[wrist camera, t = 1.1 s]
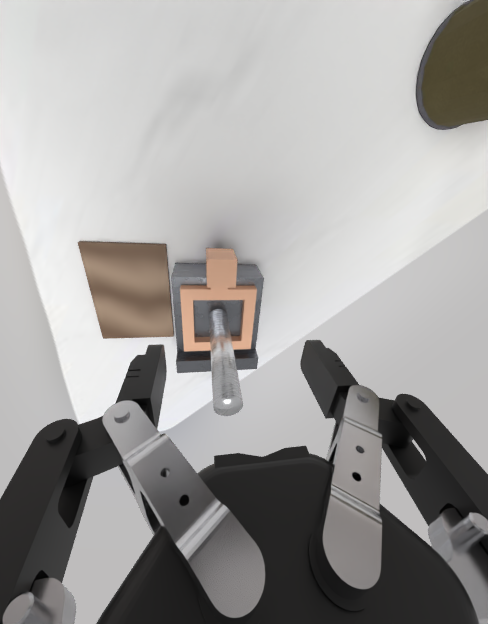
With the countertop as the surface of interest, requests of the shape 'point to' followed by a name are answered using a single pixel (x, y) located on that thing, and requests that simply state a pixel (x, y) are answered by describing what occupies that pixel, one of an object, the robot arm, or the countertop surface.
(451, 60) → the canister
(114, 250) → the board
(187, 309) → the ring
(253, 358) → the block
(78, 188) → the countertop surface
